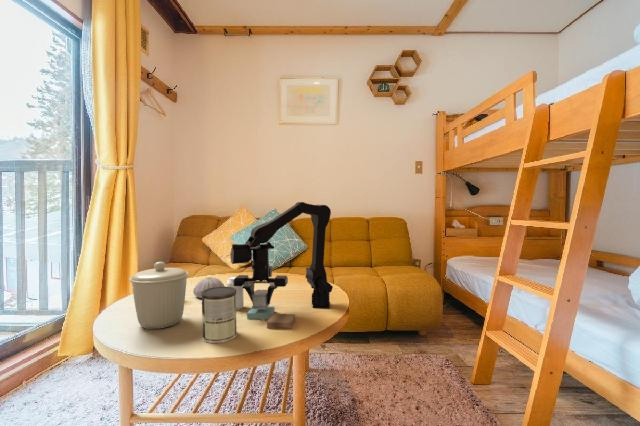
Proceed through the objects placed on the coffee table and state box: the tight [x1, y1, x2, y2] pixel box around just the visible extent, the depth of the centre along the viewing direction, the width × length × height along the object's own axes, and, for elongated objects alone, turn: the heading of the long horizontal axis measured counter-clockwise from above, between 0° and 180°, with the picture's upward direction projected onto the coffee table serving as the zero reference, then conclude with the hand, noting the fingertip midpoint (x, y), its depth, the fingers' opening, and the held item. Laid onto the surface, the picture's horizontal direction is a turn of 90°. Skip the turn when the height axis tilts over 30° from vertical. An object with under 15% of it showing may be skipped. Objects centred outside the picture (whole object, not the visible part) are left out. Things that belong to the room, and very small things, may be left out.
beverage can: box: [226, 275, 245, 311], centre depth 127 cm, size 6×6×12 cm
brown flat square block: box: [266, 313, 296, 330], centre depth 111 cm, size 8×8×2 cm
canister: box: [128, 261, 190, 330], centre depth 111 cm, size 18×18×21 cm
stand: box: [246, 305, 276, 320], centre depth 119 cm, size 8×8×2 cm
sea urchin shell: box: [192, 276, 226, 299], centre depth 144 cm, size 13×14×8 cm
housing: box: [251, 289, 270, 309], centre depth 119 cm, size 7×5×5 cm
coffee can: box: [201, 286, 238, 344], centre depth 101 cm, size 10×10×14 cm
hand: (261, 304), depth 119 cm, fingers closed on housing, 5 cm apart
